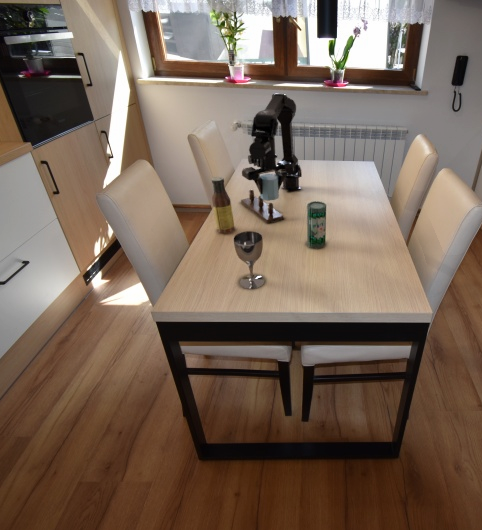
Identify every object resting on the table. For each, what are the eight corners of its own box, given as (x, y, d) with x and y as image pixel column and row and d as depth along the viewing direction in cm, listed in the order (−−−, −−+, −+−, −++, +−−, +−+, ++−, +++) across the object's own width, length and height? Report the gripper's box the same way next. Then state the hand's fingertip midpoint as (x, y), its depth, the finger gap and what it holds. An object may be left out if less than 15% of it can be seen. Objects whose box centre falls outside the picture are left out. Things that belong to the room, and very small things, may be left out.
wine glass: (240, 274, 119) (235, 231, 111) (266, 274, 120) (263, 231, 112) (237, 289, 113) (231, 245, 104) (264, 289, 113) (261, 244, 105)
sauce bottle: (238, 228, 144) (232, 177, 134) (227, 235, 139) (220, 183, 129) (224, 225, 146) (217, 174, 136) (213, 231, 142) (205, 179, 131)
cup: (273, 192, 152) (272, 172, 148) (282, 198, 147) (281, 177, 143) (257, 195, 149) (255, 175, 144) (266, 202, 144) (265, 181, 140)
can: (312, 250, 133) (312, 210, 125) (305, 242, 138) (304, 203, 129) (327, 246, 136) (329, 207, 127) (320, 238, 140) (321, 200, 132)
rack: (256, 199, 168) (254, 185, 164) (283, 219, 152) (282, 203, 149) (241, 203, 164) (239, 188, 160) (267, 223, 149) (266, 208, 145)
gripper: (278, 141, 149) (280, 180, 157) (233, 149, 139) (237, 190, 147) (293, 149, 141) (294, 189, 150) (247, 157, 132) (251, 200, 140)
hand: (269, 191), depth 147 cm, fingers closed on cup, 7 cm apart
